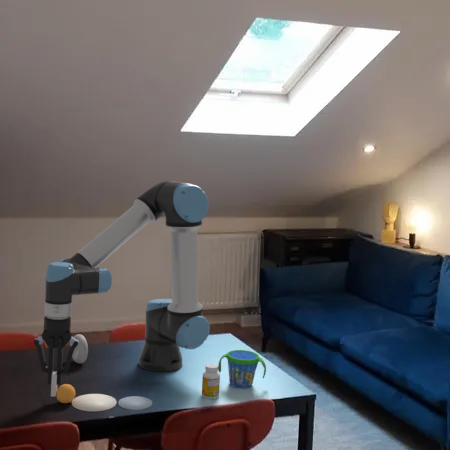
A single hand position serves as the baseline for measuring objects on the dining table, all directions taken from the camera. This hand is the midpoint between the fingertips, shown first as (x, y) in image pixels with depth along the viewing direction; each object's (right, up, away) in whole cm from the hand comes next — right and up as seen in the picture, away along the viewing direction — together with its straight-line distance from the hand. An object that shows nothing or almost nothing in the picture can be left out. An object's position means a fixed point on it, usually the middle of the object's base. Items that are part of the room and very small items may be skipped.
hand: (53, 394), depth 201 cm
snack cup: (+55, -3, +24) cm, 60 cm away
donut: (0, +2, +35) cm, 35 cm away
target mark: (+11, -3, +2) cm, 12 cm away
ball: (+3, 0, 0) cm, 3 cm away
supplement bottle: (+45, -4, +13) cm, 47 cm away
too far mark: (+23, -3, +3) cm, 24 cm away
